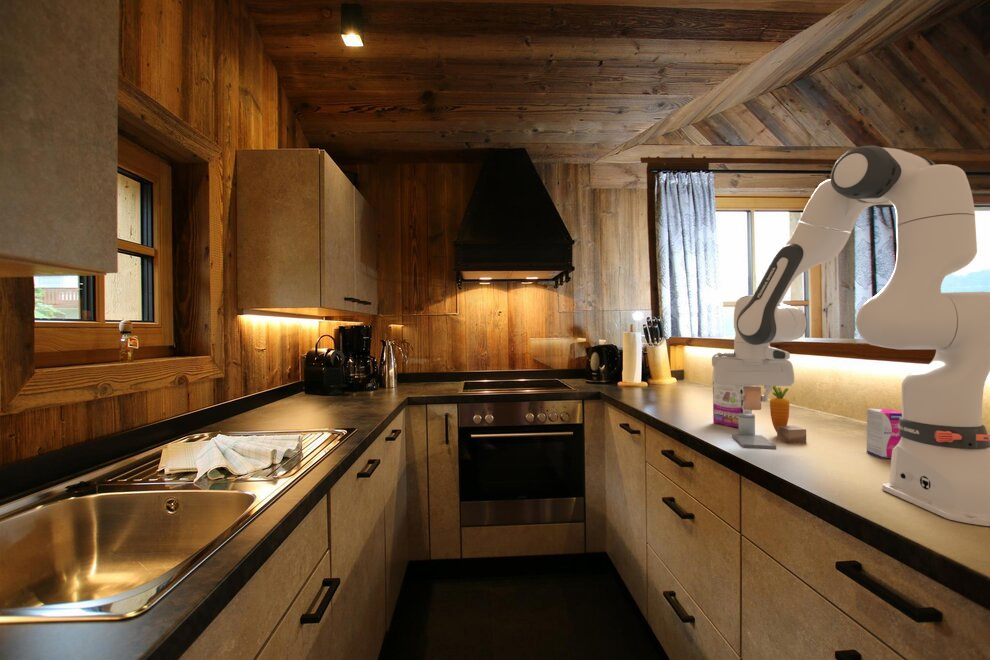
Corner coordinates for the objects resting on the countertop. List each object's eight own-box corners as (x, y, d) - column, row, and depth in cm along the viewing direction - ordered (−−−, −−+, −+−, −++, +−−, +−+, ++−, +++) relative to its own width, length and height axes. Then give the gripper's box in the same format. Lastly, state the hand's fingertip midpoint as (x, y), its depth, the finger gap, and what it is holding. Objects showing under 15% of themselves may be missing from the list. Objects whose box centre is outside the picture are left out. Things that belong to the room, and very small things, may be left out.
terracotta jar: (763, 410, 126) (763, 387, 126) (745, 409, 127) (745, 387, 127) (758, 407, 130) (758, 385, 130) (741, 406, 131) (741, 385, 131)
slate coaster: (776, 448, 121) (776, 445, 121) (743, 447, 123) (743, 444, 123) (761, 438, 133) (761, 435, 133) (732, 436, 135) (731, 434, 135)
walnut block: (806, 443, 127) (806, 429, 127) (789, 444, 126) (789, 429, 126) (793, 439, 132) (793, 425, 132) (777, 439, 131) (776, 426, 131)
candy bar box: (753, 427, 146) (752, 377, 146) (742, 429, 144) (741, 378, 144) (722, 421, 156) (722, 374, 156) (712, 423, 154) (711, 375, 154)
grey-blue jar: (757, 436, 135) (756, 416, 135) (740, 436, 136) (740, 415, 136) (752, 433, 139) (752, 413, 139) (736, 432, 140) (736, 412, 140)
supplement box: (882, 459, 111) (882, 412, 111) (865, 452, 116) (865, 408, 116) (908, 459, 110) (908, 412, 110) (890, 453, 116) (889, 408, 116)
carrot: (793, 436, 134) (793, 386, 134) (782, 438, 132) (781, 387, 132) (777, 433, 138) (777, 384, 138) (766, 435, 137) (765, 385, 136)
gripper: (714, 353, 128) (714, 402, 128) (796, 353, 122) (796, 404, 123) (709, 351, 134) (710, 398, 134) (787, 351, 128) (788, 400, 129)
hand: (752, 401), depth 128 cm, fingers closed on terracotta jar, 4 cm apart
